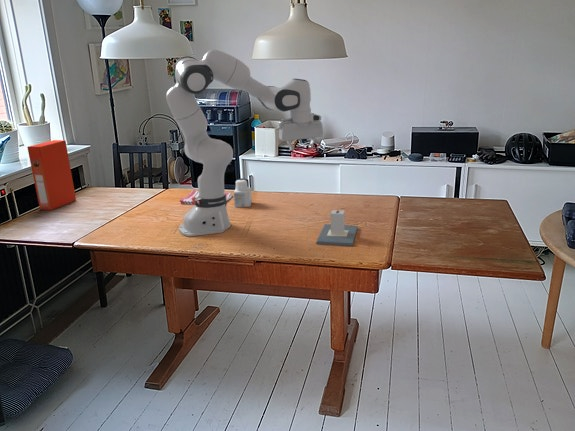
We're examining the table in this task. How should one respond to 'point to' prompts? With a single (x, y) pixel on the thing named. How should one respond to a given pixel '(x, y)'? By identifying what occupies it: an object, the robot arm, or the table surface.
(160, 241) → the table surface
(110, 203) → the table surface
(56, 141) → the file binder
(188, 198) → the dish towel
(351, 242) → the header board
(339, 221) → the block
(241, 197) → the container
